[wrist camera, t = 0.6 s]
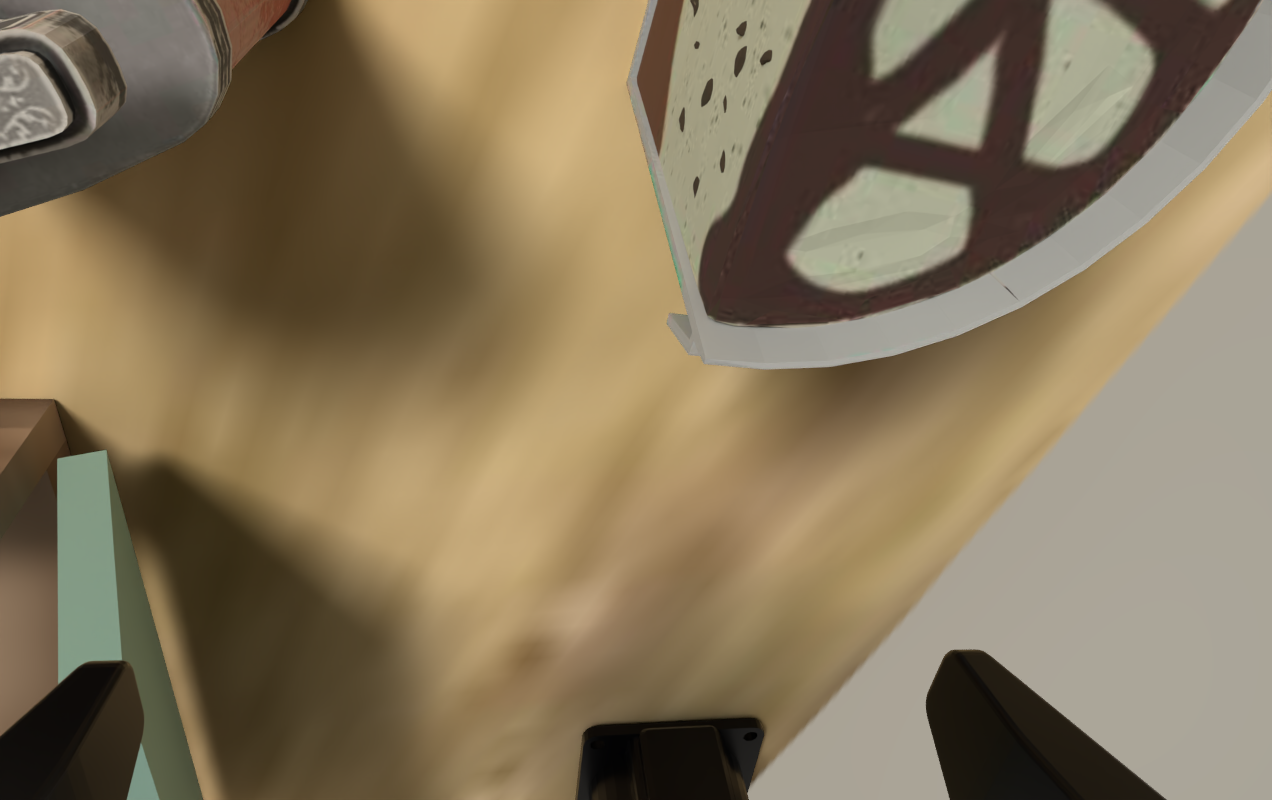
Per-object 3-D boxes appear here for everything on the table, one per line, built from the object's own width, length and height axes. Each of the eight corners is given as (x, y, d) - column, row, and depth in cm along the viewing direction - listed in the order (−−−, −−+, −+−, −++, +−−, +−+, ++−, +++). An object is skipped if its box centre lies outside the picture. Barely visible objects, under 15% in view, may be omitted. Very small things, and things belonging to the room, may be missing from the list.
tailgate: (179, 844, 30) (207, 1089, 24) (56, 458, 21) (58, 709, 15) (212, 832, 30) (246, 1070, 25) (106, 449, 21) (124, 690, 16)
